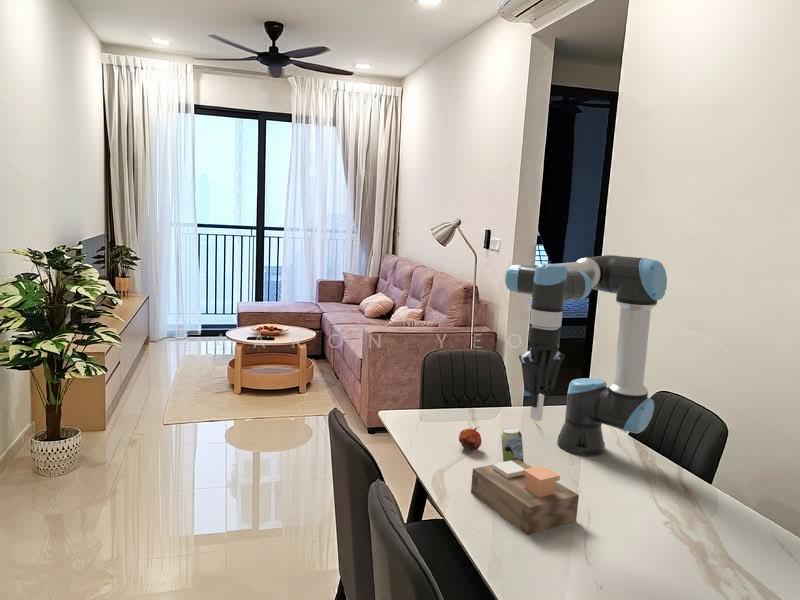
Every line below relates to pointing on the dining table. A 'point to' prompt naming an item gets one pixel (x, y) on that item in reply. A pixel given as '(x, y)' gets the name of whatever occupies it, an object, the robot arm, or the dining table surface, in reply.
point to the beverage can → (512, 444)
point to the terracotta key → (540, 481)
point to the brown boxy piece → (523, 500)
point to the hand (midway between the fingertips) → (535, 418)
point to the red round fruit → (470, 439)
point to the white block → (508, 469)
